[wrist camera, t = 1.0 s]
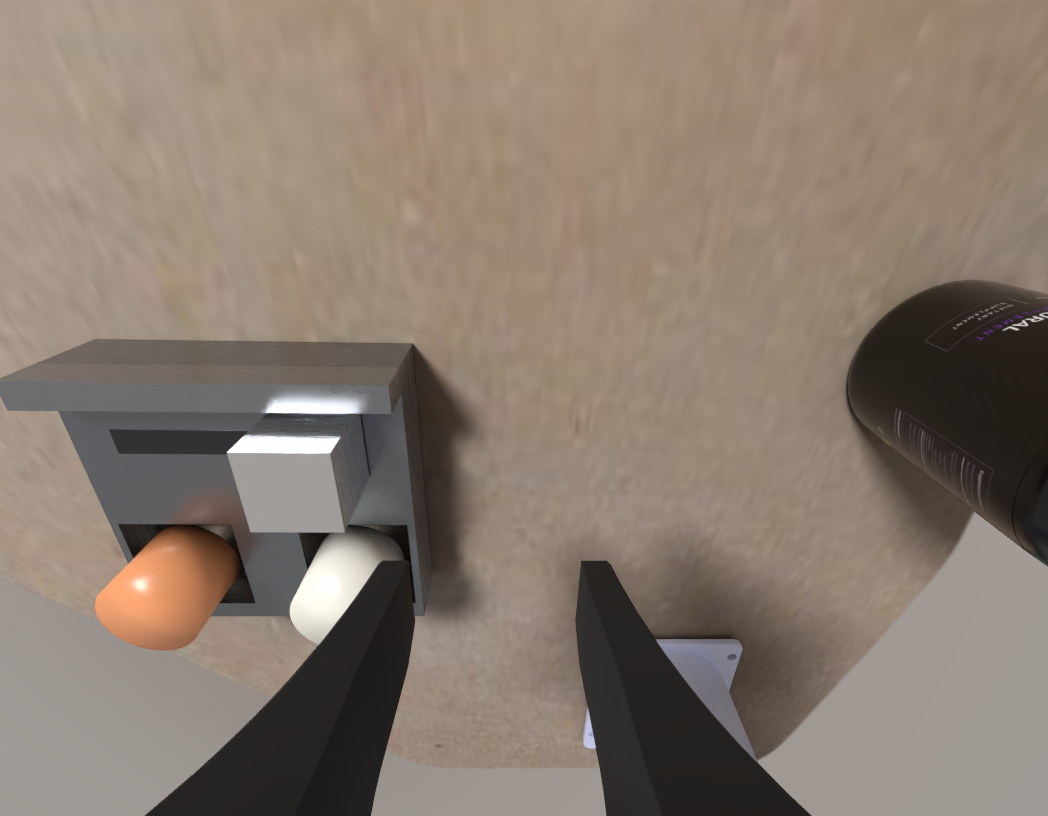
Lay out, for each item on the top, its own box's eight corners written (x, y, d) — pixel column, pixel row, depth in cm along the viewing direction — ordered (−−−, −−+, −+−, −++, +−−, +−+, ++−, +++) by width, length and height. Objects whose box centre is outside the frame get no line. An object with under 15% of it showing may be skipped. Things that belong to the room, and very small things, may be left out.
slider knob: (369, 479, 18) (344, 532, 16) (289, 478, 18) (250, 532, 16) (359, 408, 17) (330, 453, 14) (272, 407, 17) (226, 452, 14)
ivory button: (407, 589, 22) (392, 649, 19) (326, 589, 21) (299, 650, 19) (400, 526, 20) (382, 581, 17) (312, 525, 20) (280, 582, 17)
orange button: (248, 589, 21) (210, 650, 19) (166, 589, 21) (115, 650, 19) (228, 525, 20) (183, 582, 17) (138, 525, 20) (79, 581, 17)
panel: (432, 573, 24) (418, 645, 20) (186, 573, 24) (128, 646, 20) (412, 343, 19) (388, 385, 15) (94, 339, 18) (-8, 381, 15)
